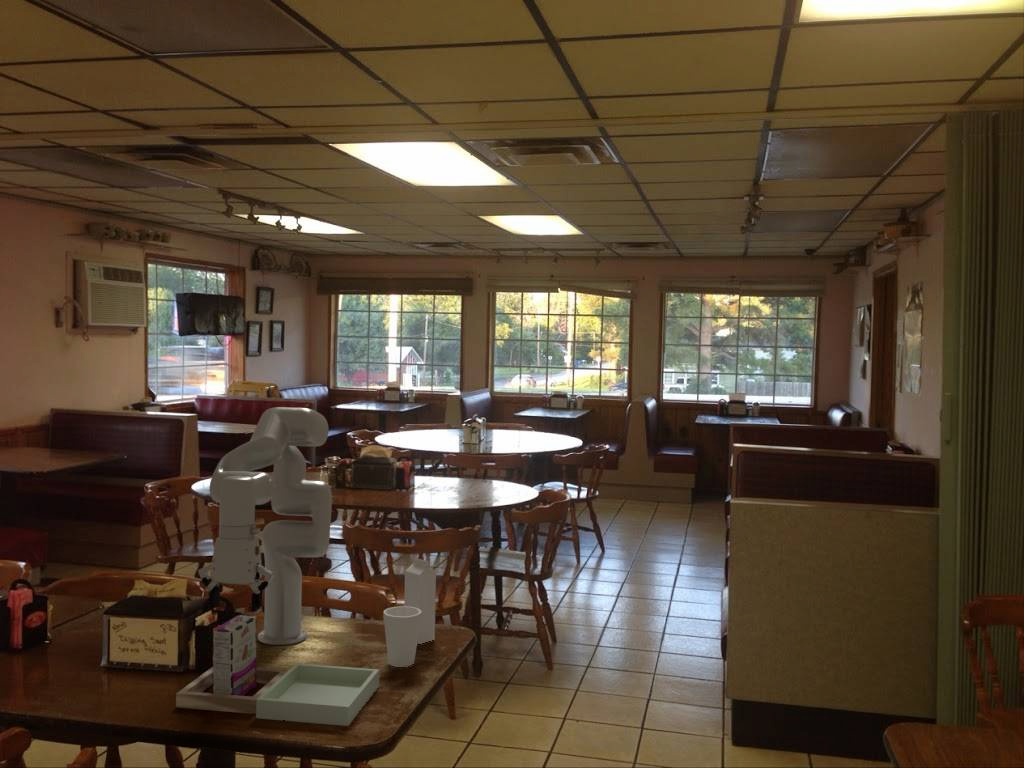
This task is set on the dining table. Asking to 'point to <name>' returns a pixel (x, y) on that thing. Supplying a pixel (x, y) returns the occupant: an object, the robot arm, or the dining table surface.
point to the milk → (422, 596)
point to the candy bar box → (235, 656)
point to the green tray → (318, 694)
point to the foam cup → (401, 634)
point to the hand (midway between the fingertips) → (235, 608)
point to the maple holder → (221, 702)
